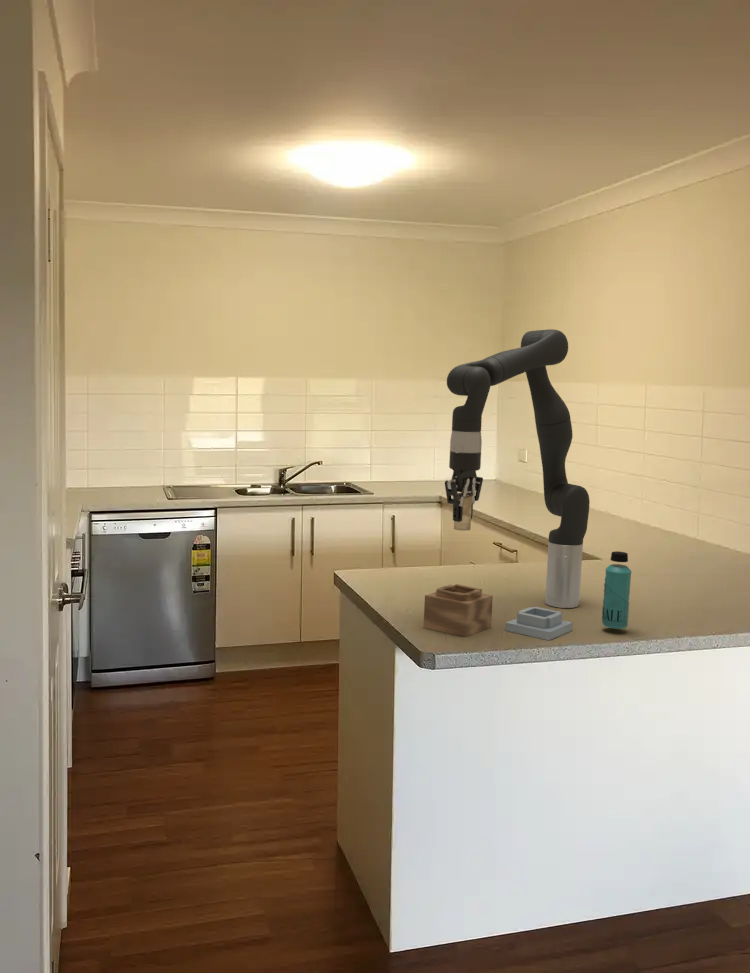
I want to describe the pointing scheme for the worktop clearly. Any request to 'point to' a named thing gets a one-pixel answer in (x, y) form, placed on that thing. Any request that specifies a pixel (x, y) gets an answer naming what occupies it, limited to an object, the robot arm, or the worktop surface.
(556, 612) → the slate dock
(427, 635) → the worktop surface
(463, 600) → the walnut dock
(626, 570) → the beverage bottle
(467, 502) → the birch peg
